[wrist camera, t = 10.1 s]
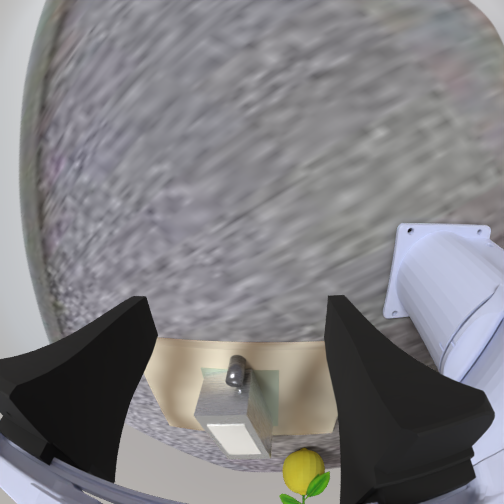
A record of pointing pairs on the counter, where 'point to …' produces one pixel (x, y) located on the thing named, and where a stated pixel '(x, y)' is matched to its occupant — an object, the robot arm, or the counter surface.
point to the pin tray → (235, 362)
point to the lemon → (304, 475)
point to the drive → (235, 416)
